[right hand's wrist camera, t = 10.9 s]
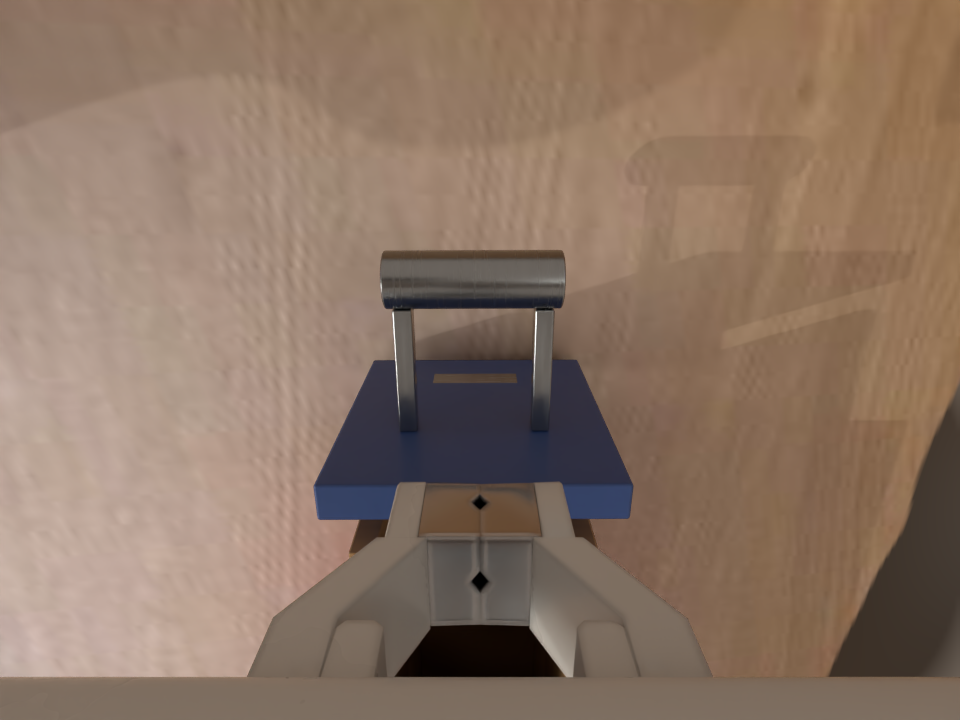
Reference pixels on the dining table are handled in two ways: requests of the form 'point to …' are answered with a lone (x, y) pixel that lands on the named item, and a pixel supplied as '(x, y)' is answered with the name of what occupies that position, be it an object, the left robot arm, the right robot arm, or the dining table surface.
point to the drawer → (473, 431)
